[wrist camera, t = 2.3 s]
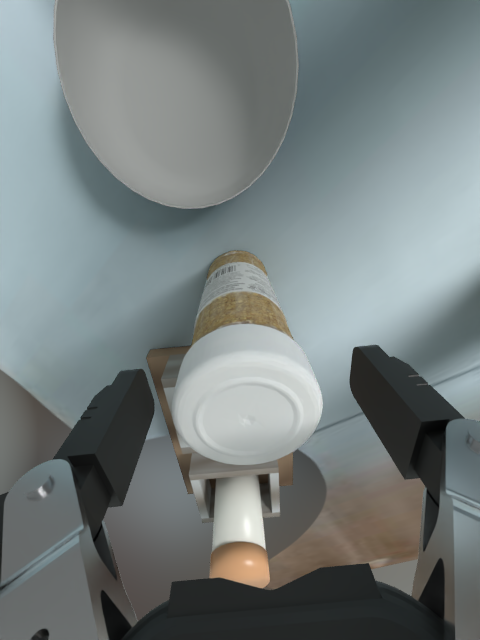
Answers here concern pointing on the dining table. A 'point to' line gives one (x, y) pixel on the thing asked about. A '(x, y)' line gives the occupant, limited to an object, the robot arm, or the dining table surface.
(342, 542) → the dining table surface
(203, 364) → the sprinkles bottle
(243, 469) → the board
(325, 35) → the dining table surface
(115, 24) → the small pan
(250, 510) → the white lotion bottle
